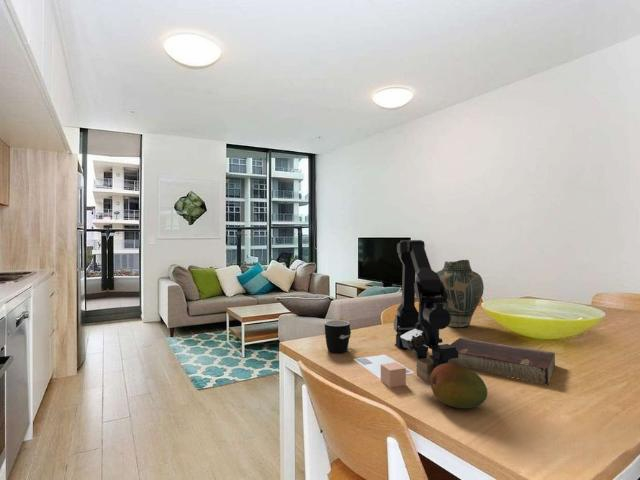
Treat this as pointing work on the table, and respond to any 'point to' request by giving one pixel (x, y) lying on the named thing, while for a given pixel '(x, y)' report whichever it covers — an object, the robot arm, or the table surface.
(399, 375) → the block
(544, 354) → the hardback book
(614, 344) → the table surface
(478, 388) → the fruit
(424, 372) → the walnut block
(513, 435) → the table surface
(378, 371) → the envelope
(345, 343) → the mug
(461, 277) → the vase
